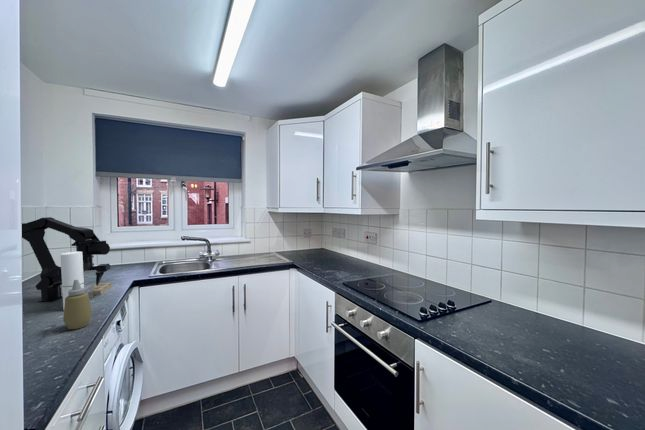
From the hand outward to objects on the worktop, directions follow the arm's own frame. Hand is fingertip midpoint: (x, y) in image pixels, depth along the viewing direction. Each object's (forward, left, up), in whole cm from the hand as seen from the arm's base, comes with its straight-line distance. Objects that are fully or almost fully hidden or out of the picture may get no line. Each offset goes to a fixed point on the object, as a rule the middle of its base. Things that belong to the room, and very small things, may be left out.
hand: (85, 286), depth 130 cm
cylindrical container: (-10, -4, -7) cm, 13 cm away
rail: (+12, +4, -7) cm, 14 cm away
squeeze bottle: (-28, -23, -7) cm, 37 cm away
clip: (0, 0, -7) cm, 7 cm away
